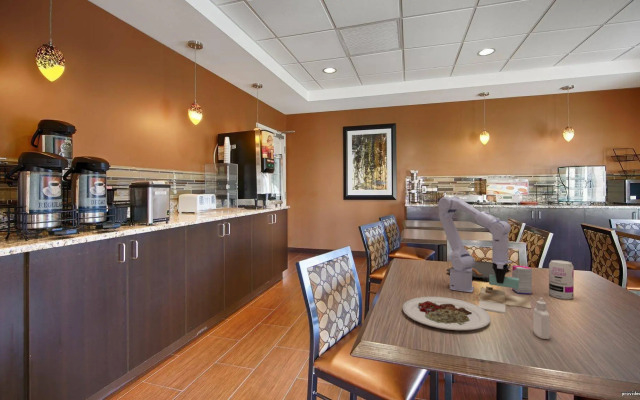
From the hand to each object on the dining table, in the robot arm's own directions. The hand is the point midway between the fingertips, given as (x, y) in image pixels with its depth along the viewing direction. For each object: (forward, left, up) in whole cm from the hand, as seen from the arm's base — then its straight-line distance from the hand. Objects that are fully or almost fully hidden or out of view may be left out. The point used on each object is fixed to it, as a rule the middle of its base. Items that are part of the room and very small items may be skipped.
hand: (500, 281), depth 125 cm
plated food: (-18, -28, -8) cm, 34 cm away
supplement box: (+8, +15, -8) cm, 19 cm away
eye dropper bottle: (+11, -30, -8) cm, 33 cm away
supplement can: (+22, +16, -8) cm, 28 cm away
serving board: (-10, +43, -8) cm, 45 cm away
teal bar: (+1, 0, -1) cm, 2 cm away
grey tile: (-3, -12, -8) cm, 14 cm away
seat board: (+1, 0, -8) cm, 8 cm away
